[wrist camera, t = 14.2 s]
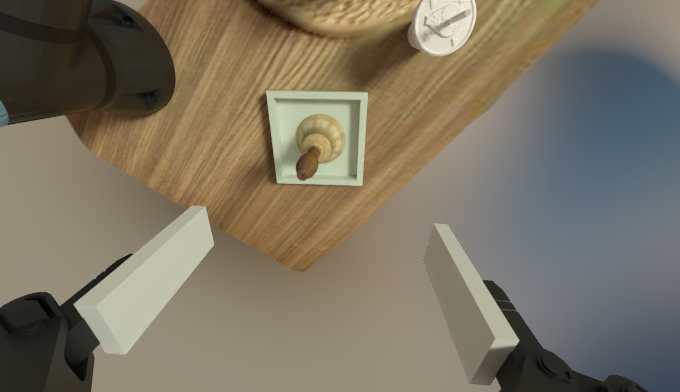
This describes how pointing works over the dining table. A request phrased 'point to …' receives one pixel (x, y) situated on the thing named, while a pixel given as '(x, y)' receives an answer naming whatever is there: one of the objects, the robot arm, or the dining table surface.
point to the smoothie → (441, 26)
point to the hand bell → (318, 143)
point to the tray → (300, 104)
